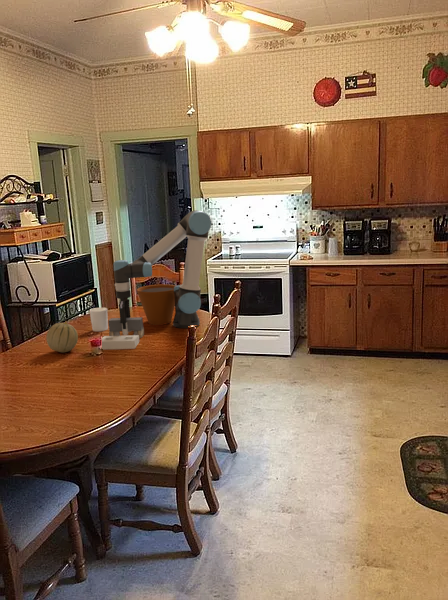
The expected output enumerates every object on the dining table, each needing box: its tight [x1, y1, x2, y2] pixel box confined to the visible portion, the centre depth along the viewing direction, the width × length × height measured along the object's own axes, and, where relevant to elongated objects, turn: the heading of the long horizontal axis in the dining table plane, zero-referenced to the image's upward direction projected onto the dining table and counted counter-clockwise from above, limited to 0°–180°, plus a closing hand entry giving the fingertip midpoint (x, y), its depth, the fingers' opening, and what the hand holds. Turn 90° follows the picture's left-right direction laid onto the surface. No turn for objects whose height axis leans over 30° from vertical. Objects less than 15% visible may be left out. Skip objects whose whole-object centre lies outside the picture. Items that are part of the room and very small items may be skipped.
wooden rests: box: [108, 327, 145, 339], centre depth 281 cm, size 17×6×4 cm, turn 87°
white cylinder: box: [89, 307, 109, 332], centre depth 297 cm, size 10×10×12 cm
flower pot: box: [136, 283, 177, 326], centre depth 310 cm, size 24×24×20 cm
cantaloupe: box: [46, 320, 79, 353], centre depth 259 cm, size 15×15×15 cm
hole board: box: [101, 334, 140, 350], centre depth 266 cm, size 18×10×4 cm, turn 87°
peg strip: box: [108, 316, 144, 336], centre depth 280 cm, size 17×5×10 cm, turn 87°
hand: (126, 333), depth 281 cm, fingers closed on peg strip, 5 cm apart
